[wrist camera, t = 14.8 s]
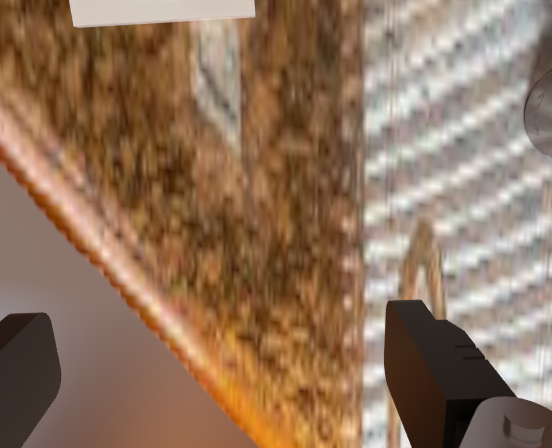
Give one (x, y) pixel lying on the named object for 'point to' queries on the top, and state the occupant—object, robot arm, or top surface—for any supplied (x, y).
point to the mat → (155, 11)
